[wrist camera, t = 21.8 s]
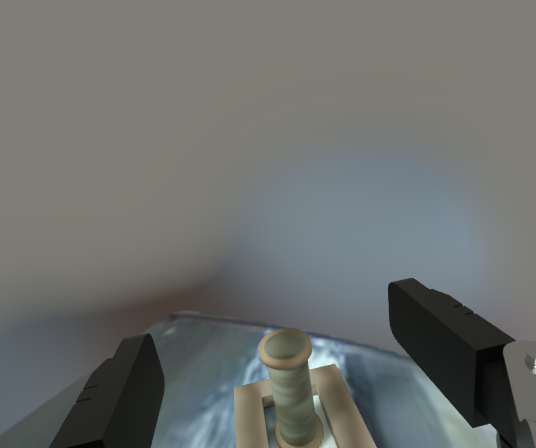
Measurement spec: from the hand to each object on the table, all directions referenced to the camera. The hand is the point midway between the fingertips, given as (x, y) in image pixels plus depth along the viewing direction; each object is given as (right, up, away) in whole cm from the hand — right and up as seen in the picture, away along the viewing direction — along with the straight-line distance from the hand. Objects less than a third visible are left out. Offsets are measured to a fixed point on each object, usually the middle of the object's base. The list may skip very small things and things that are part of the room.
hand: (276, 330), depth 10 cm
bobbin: (+4, -24, +30) cm, 39 cm away
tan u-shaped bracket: (+4, -24, +31) cm, 40 cm away
